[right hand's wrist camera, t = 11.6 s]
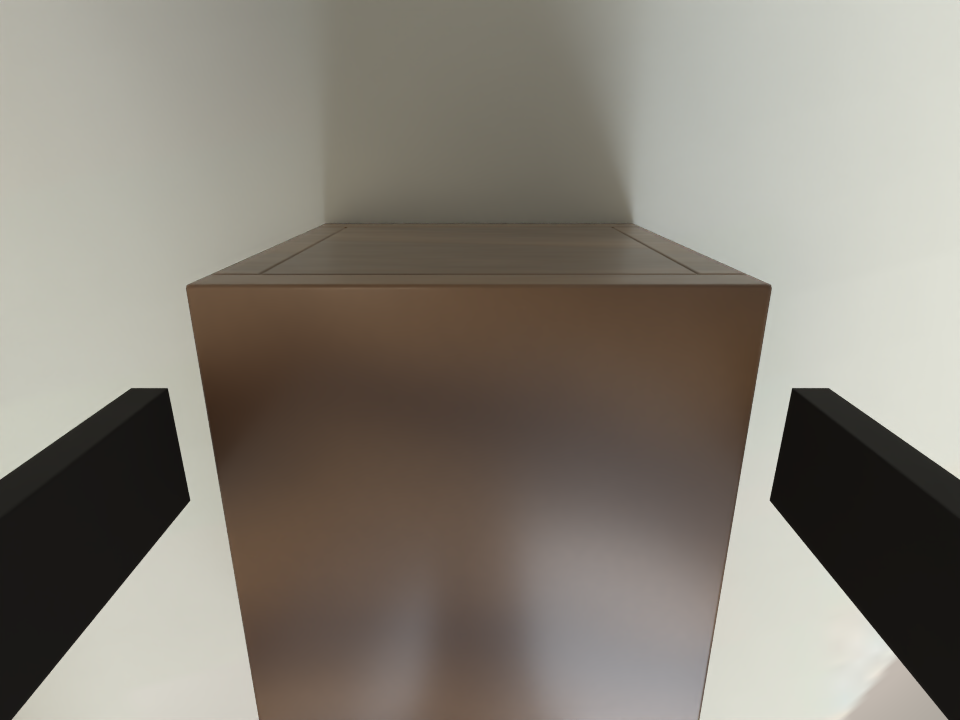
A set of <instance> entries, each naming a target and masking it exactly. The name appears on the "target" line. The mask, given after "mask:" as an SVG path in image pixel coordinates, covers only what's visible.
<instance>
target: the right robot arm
mask: <svg viewBox="0 0 960 720" xmlns="http://www.w3.org/2000/svg"><path fill="white" fill-rule="evenodd" d="M189 501H190V497H189V492H188V487H187V482H186V477H185V472H184V467H183V462H182V457H181V452H180V447H179V442H178V437H177V432H176V427H175V422H174V417H173V412H172V407H171V402H170V397H169V392H168V388H131V389H130V390H128V391H127V392H125V393H124V394H122V395H121V396H119V397H118V398H117V399H115V400H114V401H112V402H111V403H109V404H108V405H107V406H105V407H104V408H102V409H101V410H99V411H98V412H97V413H95V414H94V415H92V416H91V417H89V418H88V419H87V420H85V421H84V422H82V423H81V424H79V425H78V426H77V427H75V428H74V429H72V430H71V431H69V432H68V433H66V434H65V435H64V436H62V437H61V438H59V439H58V440H56V441H55V442H54V443H52V444H51V445H49V446H48V447H46V448H45V449H44V450H42V451H41V452H39V453H38V454H36V455H35V456H34V457H32V458H31V459H29V460H28V461H26V462H25V463H24V464H22V465H21V466H19V467H18V468H16V469H15V470H13V471H12V472H11V473H9V474H8V475H6V476H5V477H3V478H2V479H1V480H0V720H12V719H13V717H14V716H15V715H16V714H17V712H18V711H19V710H20V709H21V708H22V706H23V705H24V704H25V703H26V701H27V700H28V699H29V698H30V697H31V695H32V694H33V693H34V692H35V690H36V689H37V688H38V687H39V685H40V684H41V683H42V682H43V681H44V679H45V678H46V677H47V676H48V674H49V673H50V672H51V671H52V670H53V668H54V667H55V666H56V665H57V663H58V662H59V661H60V660H61V658H62V657H63V656H64V655H65V654H66V652H67V651H68V650H69V649H70V647H71V646H72V645H73V644H74V643H75V641H76V640H77V639H78V638H79V636H80V635H81V634H82V633H83V631H84V630H85V629H86V628H87V627H88V625H89V624H90V623H91V622H92V620H93V619H94V618H95V617H96V616H97V614H98V613H99V612H100V611H101V609H102V608H103V607H104V606H105V604H106V603H107V602H108V601H109V600H110V598H111V597H112V596H113V595H114V593H115V592H116V591H117V590H118V589H119V587H120V586H121V585H122V584H123V582H124V581H125V580H126V579H127V577H128V576H129V575H130V574H131V573H132V571H133V570H134V569H135V568H136V566H137V565H138V564H139V563H140V562H141V560H142V559H143V558H144V557H145V555H146V554H147V553H148V552H149V550H150V549H151V548H152V547H153V546H154V544H155V543H156V542H157V541H158V539H159V538H160V537H161V536H162V535H163V533H164V532H165V531H166V530H167V528H168V527H169V526H170V525H171V523H172V522H173V521H174V520H175V519H176V517H177V516H178V515H179V514H180V512H181V511H182V510H183V509H184V508H185V506H186V505H187V504H188V503H189ZM770 501H771V503H772V504H773V505H774V506H775V508H776V509H777V510H778V511H779V512H780V514H781V515H782V516H783V517H784V519H785V520H786V521H787V522H788V523H789V525H790V526H791V527H792V528H793V530H794V531H795V532H796V533H797V535H798V536H799V537H800V538H801V539H802V541H803V542H804V543H805V544H806V546H807V547H808V548H809V549H810V550H811V552H812V553H813V554H814V555H815V557H816V558H817V559H818V560H819V562H820V563H821V564H822V565H823V566H824V568H825V569H826V570H827V571H828V573H829V574H830V575H831V576H832V577H833V579H834V580H835V581H836V582H837V584H838V585H839V586H840V587H841V589H842V590H843V591H844V592H845V593H846V595H847V596H848V597H849V598H850V600H851V601H852V602H853V603H854V604H855V606H856V607H857V608H858V609H859V611H860V612H861V613H862V614H863V616H864V617H865V618H866V619H867V620H868V622H869V623H870V624H871V625H872V627H873V628H874V629H875V630H876V631H877V633H878V634H879V635H880V636H881V638H882V639H883V640H884V641H885V643H886V644H887V645H888V646H889V647H890V649H891V650H892V651H893V652H894V654H895V655H896V656H897V657H898V658H899V660H900V661H901V662H902V663H903V665H904V666H905V667H906V668H907V669H908V671H909V672H910V673H911V674H912V676H913V677H914V678H915V679H916V681H917V682H918V683H919V684H920V685H921V687H922V688H923V689H924V690H925V692H926V693H927V694H928V695H929V696H930V698H931V699H932V700H933V701H934V703H935V704H936V705H937V706H938V708H939V709H940V710H941V711H942V712H943V714H944V715H945V716H946V717H947V719H948V720H960V480H959V479H958V478H957V477H955V476H954V475H952V474H951V473H949V472H948V471H947V470H945V469H944V468H942V467H941V466H939V465H938V464H936V463H935V462H934V461H932V460H931V459H929V458H928V457H926V456H925V455H924V454H922V453H921V452H919V451H918V450H916V449H915V448H914V447H912V446H911V445H909V444H908V443H906V442H905V441H904V440H902V439H901V438H899V437H898V436H896V435H895V434H894V433H892V432H891V431H889V430H888V429H886V428H885V427H883V426H882V425H881V424H879V423H878V422H876V421H875V420H873V419H872V418H871V417H869V416H868V415H866V414H865V413H863V412H862V411H861V410H859V409H858V408H856V407H855V406H853V405H852V404H851V403H849V402H848V401H846V400H845V399H843V398H842V397H841V396H839V395H838V394H836V393H835V392H833V391H832V390H830V389H829V388H792V392H791V397H790V402H789V407H788V412H787V417H786V422H785V427H784V432H783V437H782V442H781V447H780V452H779V457H778V462H777V467H776V472H775V477H774V482H773V487H772V492H771V497H770Z"/></svg>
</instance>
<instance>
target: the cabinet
mask: <svg viewBox="0 0 960 720" xmlns="http://www.w3.org/2000/svg"><path fill="white" fill-rule="evenodd" d="M771 289H772V287H771V285H770V284H768V283H765V282H763V281H761V280H759V279H756V278H754V277H752V276H750V275H747V274H745V273H743V272H740V271H738V270H736V269H734V268H731V267H729V266H727V265H725V264H722V263H720V262H718V261H716V260H713V259H711V258H709V257H707V256H704V255H702V254H700V253H698V252H695V251H693V250H691V249H689V248H686V247H684V246H682V245H680V244H678V243H675V242H673V241H671V240H669V239H666V238H664V237H662V236H660V235H657V234H655V233H653V232H651V231H648V230H646V229H644V228H642V227H639V226H637V225H635V224H324V225H321V226H319V227H317V228H315V229H312V230H310V231H308V232H306V233H303V234H301V235H299V236H297V237H294V238H292V239H290V240H288V241H285V242H283V243H281V244H279V245H276V246H274V247H272V248H270V249H267V250H265V251H263V252H261V253H258V254H256V255H254V256H252V257H249V258H247V259H245V260H243V261H240V262H238V263H236V264H234V265H231V266H229V267H227V268H225V269H222V270H220V271H218V272H216V273H213V274H211V275H209V276H206V277H204V278H202V279H200V280H197V281H195V282H193V283H191V284H188V285H187V286H186V291H187V297H188V303H189V309H190V315H191V321H192V326H193V332H194V338H195V344H196V350H197V356H198V362H199V368H200V374H201V380H202V385H203V391H204V397H205V403H206V409H207V415H208V421H209V427H210V433H211V439H212V444H213V450H214V456H215V462H216V468H217V474H218V480H219V486H220V492H221V498H222V503H223V509H224V515H225V521H226V527H227V533H228V539H229V545H230V551H231V557H232V562H233V568H234V574H235V580H236V586H237V592H238V598H239V604H240V610H241V616H242V621H243V627H244V633H245V639H246V645H247V651H248V657H249V663H250V669H251V675H252V680H253V686H254V692H255V698H256V704H257V710H258V716H259V720H699V718H700V712H701V706H702V700H703V694H704V688H705V682H706V677H707V671H708V665H709V659H710V653H711V647H712V641H713V635H714V629H715V623H716V617H717V611H718V605H719V599H720V593H721V587H722V581H723V575H724V569H725V563H726V557H727V551H728V546H729V540H730V534H731V528H732V522H733V516H734V510H735V504H736V498H737V492H738V486H739V480H740V474H741V468H742V462H743V456H744V450H745V444H746V438H747V432H748V426H749V420H750V414H751V409H752V403H753V397H754V391H755V385H756V379H757V373H758V367H759V361H760V355H761V349H762V343H763V337H764V331H765V325H766V319H767V313H768V307H769V301H770V295H771Z"/></svg>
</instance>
